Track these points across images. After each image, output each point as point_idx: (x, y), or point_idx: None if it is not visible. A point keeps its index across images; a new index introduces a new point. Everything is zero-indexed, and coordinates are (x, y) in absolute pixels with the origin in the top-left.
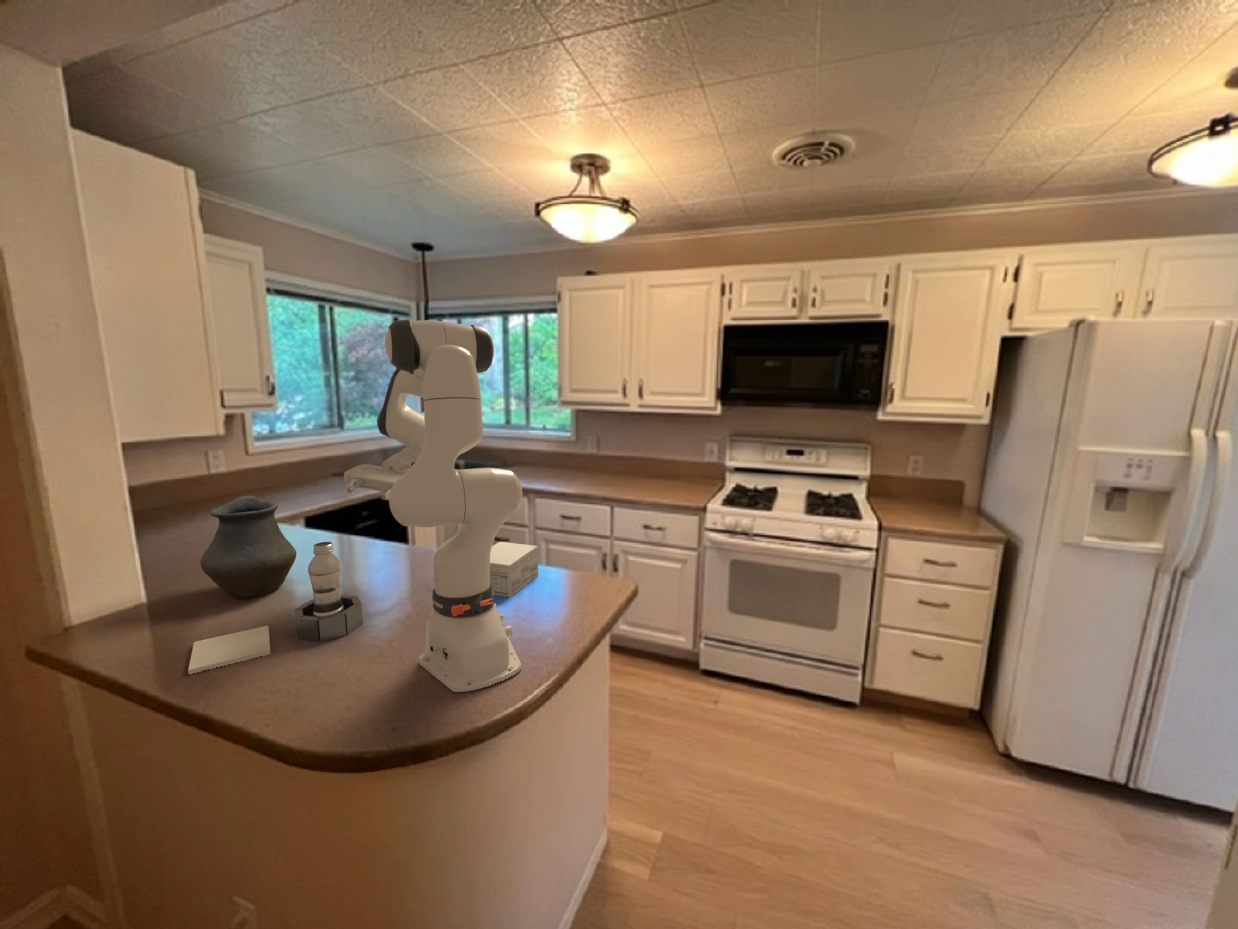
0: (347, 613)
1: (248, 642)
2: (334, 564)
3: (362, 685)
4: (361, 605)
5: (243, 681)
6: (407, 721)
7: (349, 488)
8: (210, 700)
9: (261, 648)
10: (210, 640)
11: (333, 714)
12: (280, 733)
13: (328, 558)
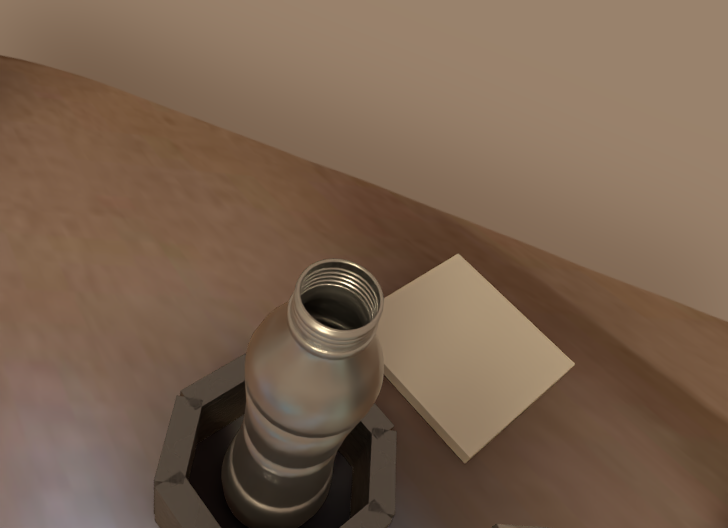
0: (175, 401)
1: (436, 358)
2: (256, 333)
3: (18, 198)
4: (155, 489)
5: (316, 232)
6: None
7: (524, 526)
8: (330, 186)
9: None
10: (543, 370)
11: (50, 127)
12: (130, 101)
13: (285, 310)
